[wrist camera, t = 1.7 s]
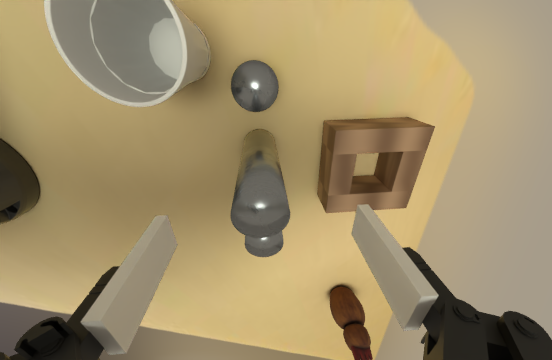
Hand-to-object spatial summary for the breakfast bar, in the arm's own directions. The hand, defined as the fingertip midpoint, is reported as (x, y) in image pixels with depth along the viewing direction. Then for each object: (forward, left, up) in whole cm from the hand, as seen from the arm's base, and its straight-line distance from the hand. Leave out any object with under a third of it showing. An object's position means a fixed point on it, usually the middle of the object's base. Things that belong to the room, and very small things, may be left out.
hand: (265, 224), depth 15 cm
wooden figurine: (+16, -36, -17) cm, 43 cm away
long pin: (0, 0, -17) cm, 17 cm away
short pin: (0, +8, -17) cm, 19 cm away
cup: (-8, +11, -17) cm, 22 cm away
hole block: (+15, -3, -17) cm, 23 cm away
